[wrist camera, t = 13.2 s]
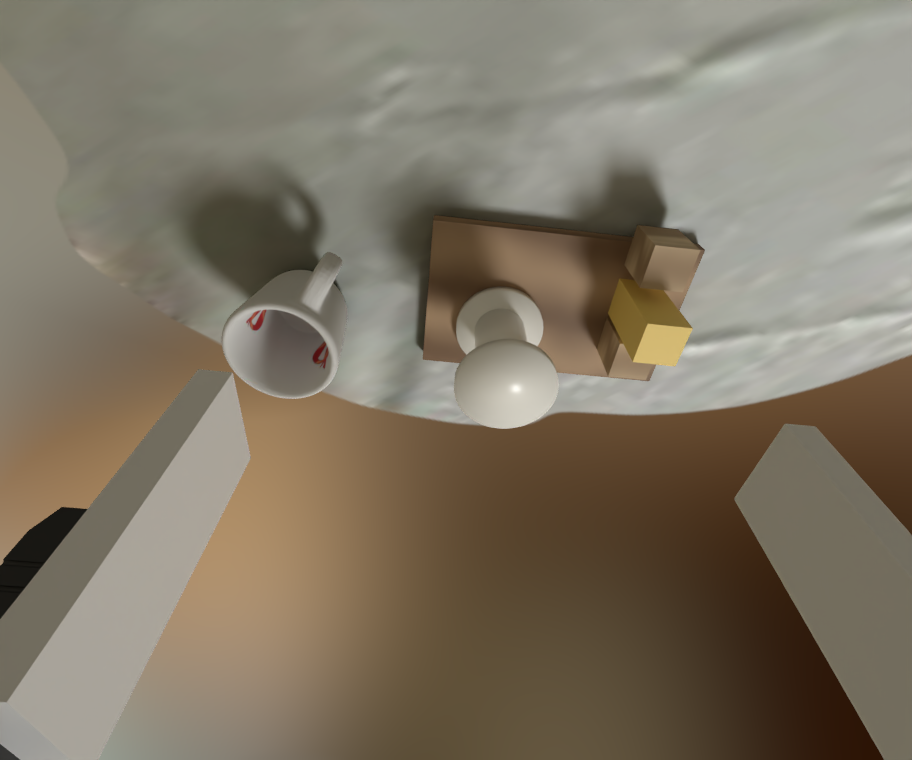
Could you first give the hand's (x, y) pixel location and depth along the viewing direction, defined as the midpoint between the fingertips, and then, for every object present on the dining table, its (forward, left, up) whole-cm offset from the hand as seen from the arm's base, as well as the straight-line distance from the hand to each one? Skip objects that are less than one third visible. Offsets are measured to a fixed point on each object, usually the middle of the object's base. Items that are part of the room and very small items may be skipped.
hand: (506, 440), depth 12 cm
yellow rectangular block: (+7, +13, -26) cm, 30 cm away
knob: (+11, +3, -26) cm, 28 cm away
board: (+9, +7, -27) cm, 29 cm away
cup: (+10, -12, -27) cm, 31 cm away
